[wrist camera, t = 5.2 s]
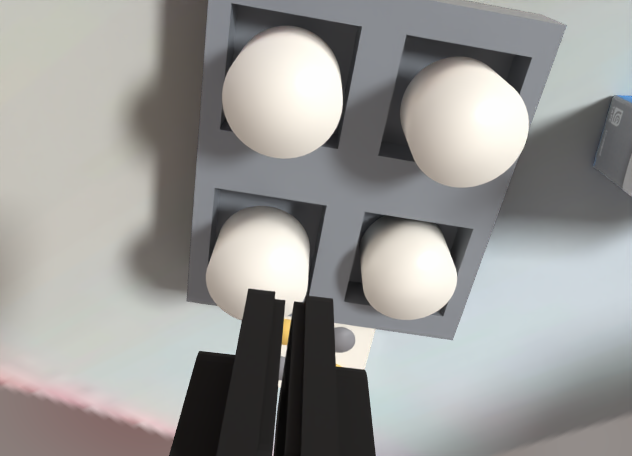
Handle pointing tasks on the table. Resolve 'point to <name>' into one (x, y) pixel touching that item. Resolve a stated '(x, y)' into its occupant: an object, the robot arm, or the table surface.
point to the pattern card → (339, 345)
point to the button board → (362, 139)
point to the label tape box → (617, 144)
